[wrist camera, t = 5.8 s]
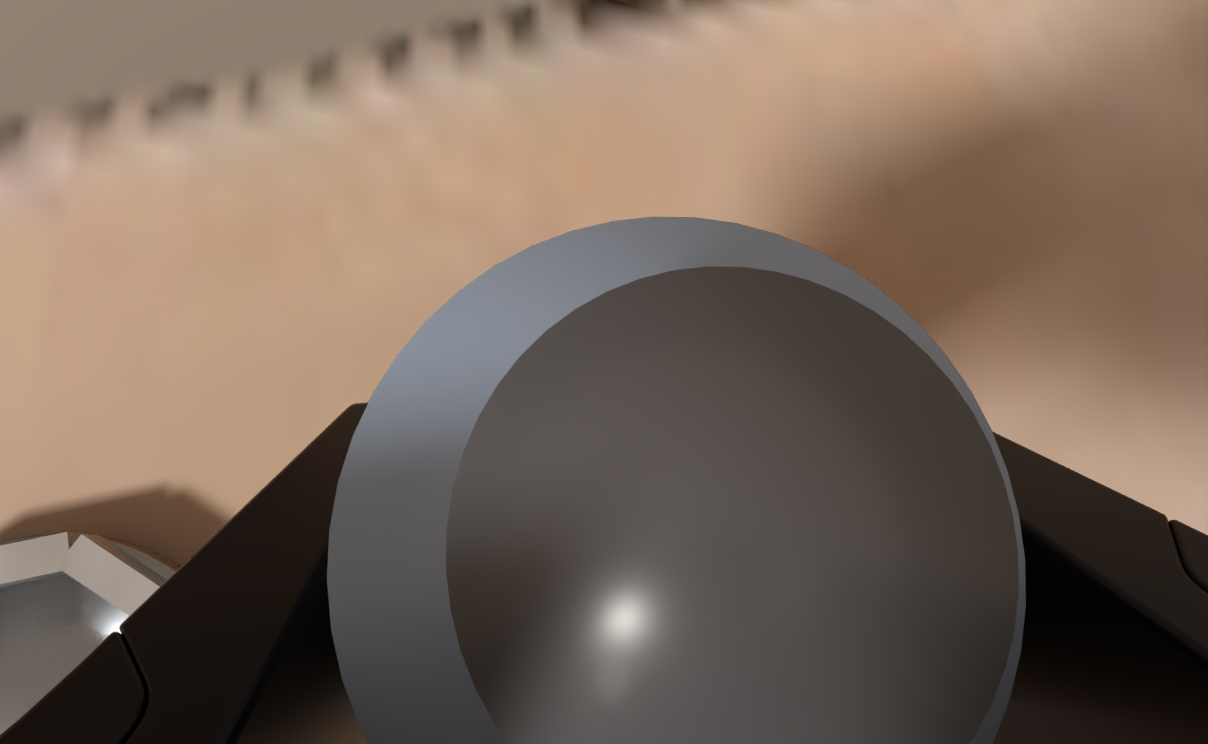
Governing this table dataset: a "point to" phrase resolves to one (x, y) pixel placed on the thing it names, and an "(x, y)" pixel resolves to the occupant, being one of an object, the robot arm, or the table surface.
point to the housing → (64, 607)
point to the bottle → (675, 509)
